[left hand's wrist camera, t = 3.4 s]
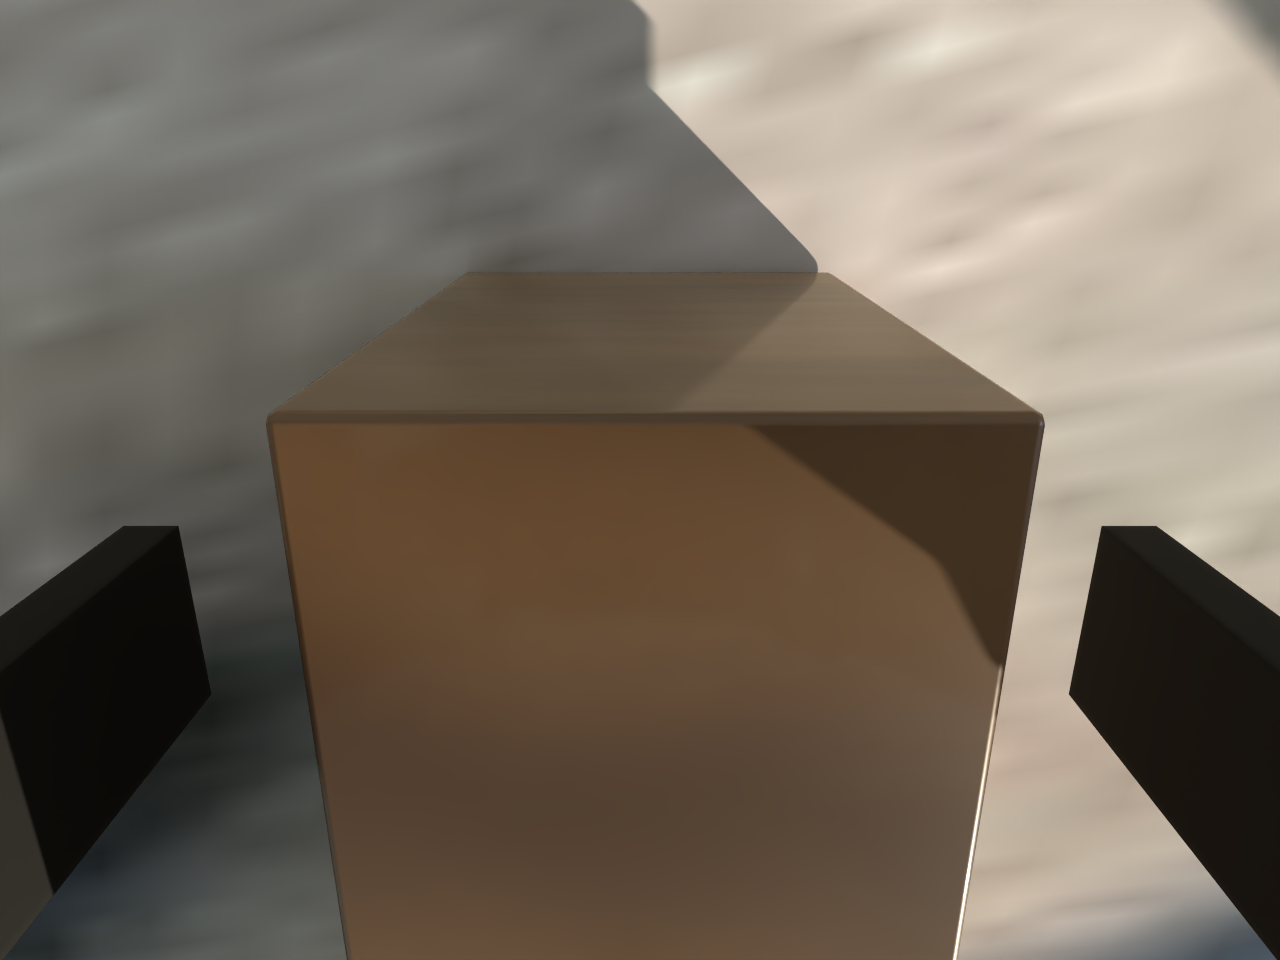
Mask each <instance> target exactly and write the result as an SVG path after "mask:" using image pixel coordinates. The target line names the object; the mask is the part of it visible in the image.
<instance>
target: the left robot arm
mask: <svg viewBox="0 0 1280 960" xmlns="http://www.w3.org/2000/svg"><path fill="white" fill-rule="evenodd" d="M210 695H211V691H210V686H209V680H208V675H207V670H206V665H205V660H204V655H203V650H202V645H201V640H200V634H199V629H198V624H197V619H196V614H195V609H194V604H193V599H192V594H191V588H190V583H189V578H188V573H187V568H186V563H185V558H184V553H183V548H182V542H181V537H180V532H179V527H178V526H123V527H122V528H120V529H119V530H118V531H116V532H115V533H114V534H112V535H111V536H109V537H108V538H107V539H105V540H104V541H103V542H101V543H100V544H99V545H97V546H96V547H94V548H93V549H92V550H90V551H89V552H88V553H86V554H85V555H84V556H82V557H81V558H79V559H78V560H77V561H75V562H74V563H73V564H71V565H70V566H69V567H67V568H66V569H64V570H63V571H62V572H60V573H59V574H58V575H56V576H55V577H54V578H52V579H51V580H49V581H48V582H47V583H45V584H44V585H43V586H41V587H40V588H39V589H37V590H36V591H34V592H33V593H32V594H30V595H29V596H28V597H26V598H25V599H24V600H22V601H21V602H19V603H18V604H17V605H15V606H14V607H13V608H11V609H10V610H9V611H7V612H6V613H4V614H3V615H2V616H0V960H3V959H4V958H5V956H6V955H7V954H8V953H9V951H10V950H11V949H12V948H13V946H14V945H15V944H16V942H17V941H18V940H19V939H20V937H21V936H22V935H23V934H24V932H25V931H26V930H27V928H28V927H29V926H30V925H31V923H32V922H33V921H34V920H35V918H36V917H37V916H38V914H39V913H40V912H41V911H42V909H43V908H44V907H45V905H46V904H47V903H48V902H49V900H50V899H51V898H52V897H53V895H54V894H55V893H56V891H57V890H58V889H59V888H60V886H61V885H62V884H63V883H64V881H65V880H66V879H67V877H68V876H69V875H70V874H71V872H72V871H73V870H74V868H75V867H76V866H77V865H78V863H79V862H80V861H81V860H82V858H83V857H84V856H85V854H86V853H87V852H88V851H89V849H90V848H91V847H92V846H93V844H94V843H95V842H96V840H97V839H98V838H99V837H100V835H101V834H102V833H103V832H104V830H105V829H106V828H107V826H108V825H109V824H110V823H111V821H112V820H113V819H114V817H115V816H116V815H117V814H118V812H119V811H120V810H121V809H122V807H123V806H124V805H125V803H126V802H127V801H128V800H129V798H130V797H131V796H132V795H133V793H134V792H135V791H136V789H137V788H138V787H139V786H140V784H141V783H142V782H143V780H144V779H145V778H146V777H147V775H148V774H149V773H150V772H151V770H152V769H153V768H154V766H155V765H156V764H157V763H158V761H159V760H160V759H161V758H162V756H163V755H164V754H165V752H166V751H167V750H168V749H169V747H170V746H171V745H172V744H173V742H174V741H175V740H176V738H177V737H178V736H179V735H180V733H181V732H182V731H183V729H184V728H185V727H186V726H187V724H188V723H189V722H190V721H191V719H192V718H193V717H194V715H195V714H196V713H197V712H198V710H199V709H200V708H201V707H202V705H203V704H204V703H205V701H206V700H207V699H208V698H209V696H210ZM1069 695H1070V696H1071V698H1072V699H1073V700H1074V701H1075V703H1076V704H1077V705H1078V706H1079V708H1080V709H1081V710H1082V712H1083V713H1084V714H1085V715H1086V717H1087V718H1088V719H1089V721H1090V722H1091V723H1092V724H1093V726H1094V727H1095V728H1096V729H1097V731H1098V732H1099V733H1100V735H1101V736H1102V737H1103V738H1104V740H1105V741H1106V742H1107V743H1108V745H1109V746H1110V747H1111V749H1112V750H1113V751H1114V752H1115V754H1116V755H1117V756H1118V757H1119V759H1120V760H1121V761H1122V763H1123V764H1124V765H1125V766H1126V768H1127V769H1128V770H1129V772H1130V773H1131V774H1132V775H1133V777H1134V778H1135V779H1136V780H1137V782H1138V783H1139V784H1140V786H1141V787H1142V788H1143V789H1144V791H1145V792H1146V793H1147V794H1148V796H1149V797H1150V798H1151V800H1152V801H1153V802H1154V803H1155V805H1156V806H1157V807H1158V809H1159V810H1160V811H1161V812H1162V814H1163V815H1164V816H1165V817H1166V819H1167V820H1168V821H1169V823H1170V824H1171V825H1172V826H1173V828H1174V829H1175V830H1176V831H1177V833H1178V834H1179V835H1180V837H1181V838H1182V839H1183V840H1184V842H1185V843H1186V844H1187V845H1188V847H1189V848H1190V849H1191V851H1192V852H1193V853H1194V854H1195V856H1196V857H1197V858H1198V860H1199V861H1200V862H1201V863H1202V865H1203V866H1204V867H1205V868H1206V870H1207V871H1208V872H1209V874H1210V875H1211V876H1212V877H1213V879H1214V880H1215V881H1216V882H1217V884H1218V885H1219V886H1220V888H1221V889H1222V890H1223V891H1224V893H1225V894H1226V895H1227V896H1228V898H1229V899H1230V900H1231V902H1232V903H1233V904H1234V905H1235V907H1236V908H1237V909H1238V911H1239V912H1240V913H1241V914H1242V916H1243V917H1244V918H1245V919H1246V921H1247V922H1248V923H1249V925H1250V926H1251V927H1252V928H1253V930H1254V931H1255V932H1256V933H1257V935H1258V936H1259V937H1260V939H1261V940H1262V941H1263V942H1264V944H1265V945H1266V946H1267V948H1268V949H1269V950H1270V951H1271V953H1272V954H1273V955H1274V956H1275V958H1276V959H1277V960H1280V616H1278V615H1277V614H1276V613H1274V612H1273V611H1271V610H1270V609H1269V608H1267V607H1266V606H1265V605H1263V604H1262V603H1261V602H1259V601H1258V600H1256V599H1255V598H1254V597H1252V596H1251V595H1250V594H1248V593H1247V592H1246V591H1244V590H1243V589H1241V588H1240V587H1239V586H1237V585H1236V584H1235V583H1233V582H1232V581H1231V580H1229V579H1228V578H1227V577H1225V576H1224V575H1222V574H1221V573H1220V572H1218V571H1217V570H1216V569H1214V568H1213V567H1212V566H1210V565H1209V564H1207V563H1206V562H1205V561H1203V560H1202V559H1201V558H1199V557H1198V556H1197V555H1195V554H1194V553H1192V552H1191V551H1190V550H1188V549H1187V548H1186V547H1184V546H1183V545H1182V544H1180V543H1179V542H1177V541H1176V540H1175V539H1173V538H1172V537H1171V536H1169V535H1168V534H1167V533H1165V532H1164V531H1162V530H1161V529H1160V528H1158V527H1157V526H1102V527H1101V532H1100V538H1099V543H1098V548H1097V553H1096V558H1095V563H1094V568H1093V573H1092V578H1091V584H1090V589H1089V594H1088V599H1087V604H1086V609H1085V614H1084V619H1083V624H1082V630H1081V635H1080V640H1079V645H1078V650H1077V655H1076V660H1075V665H1074V670H1073V676H1072V681H1071V686H1070V691H1069Z"/></svg>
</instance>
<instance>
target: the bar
mask: <svg viewBox="0 0 1280 960" xmlns="http://www.w3.org/2000/svg"><path fill="white" fill-rule="evenodd" d="M266 427H267V433H268V440H269V447H270V453H271V460H272V467H273V473H274V480H275V486H276V493H277V500H278V506H279V513H280V519H281V526H282V533H283V539H284V546H285V552H286V559H287V566H288V572H289V579H290V585H291V592H292V599H293V605H294V612H295V618H296V625H297V632H298V638H299V645H300V651H301V658H302V665H303V671H304V678H305V685H306V691H307V698H308V704H309V711H310V718H311V724H312V731H313V737H314V744H315V751H316V757H317V764H318V770H319V777H320V784H321V790H322V797H323V803H324V810H325V817H326V823H327V830H328V836H329V843H330V850H331V856H332V863H333V869H334V876H335V883H336V889H337V896H338V903H339V909H340V916H341V922H342V929H343V936H344V942H345V949H346V955H347V960H957V958H958V952H959V946H960V939H961V933H962V927H963V921H964V915H965V909H966V903H967V897H968V891H969V884H970V878H971V872H972V866H973V860H974V854H975V848H976V842H977V836H978V830H979V823H980V817H981V811H982V805H983V799H984V793H985V787H986V781H987V775H988V769H989V762H990V756H991V750H992V744H993V738H994V732H995V726H996V720H997V714H998V708H999V701H1000V695H1001V689H1002V683H1003V677H1004V671H1005V665H1006V659H1007V653H1008V647H1009V640H1010V634H1011V628H1012V622H1013V616H1014V610H1015V604H1016V598H1017V592H1018V586H1019V579H1020V573H1021V567H1022V561H1023V555H1024V549H1025V543H1026V537H1027V531H1028V524H1029V518H1030V512H1031V506H1032V500H1033V494H1034V488H1035V482H1036V476H1037V470H1038V463H1039V457H1040V451H1041V445H1042V439H1043V433H1044V427H1045V423H1044V418H1043V415H1042V414H1041V413H1039V412H1038V411H1036V410H1035V409H1033V408H1032V407H1030V406H1029V405H1027V404H1026V403H1024V402H1023V401H1021V400H1020V399H1018V398H1017V397H1015V396H1014V395H1012V394H1011V393H1009V392H1008V391H1006V390H1005V389H1003V388H1002V387H1000V386H999V385H997V384H996V383H994V382H993V381H991V380H990V379H988V378H987V377H985V376H984V375H982V374H981V373H979V372H978V371H976V370H975V369H973V368H972V367H970V366H969V365H967V364H966V363H964V362H963V361H961V360H960V359H958V358H957V357H955V356H954V355H952V354H951V353H949V352H948V351H946V350H945V349H943V348H942V347H940V346H939V345H937V344H936V343H934V342H933V341H931V340H930V339H928V338H927V337H925V336H924V335H922V334H921V333H919V332H918V331H916V330H915V329H913V328H912V327H910V326H909V325H907V324H906V323H904V322H903V321H901V320H899V319H898V318H896V317H895V316H893V315H892V314H890V313H889V312H887V311H886V310H884V309H883V308H881V307H880V306H878V305H877V304H875V303H874V302H872V301H871V300H869V299H868V298H866V297H865V296H863V295H862V294H860V293H859V292H857V291H856V290H854V289H853V288H851V287H850V286H848V285H847V284H845V283H844V282H842V281H841V280H839V279H838V278H836V277H835V276H833V275H832V274H830V273H467V274H465V275H463V276H462V277H460V278H459V279H458V280H456V281H455V282H453V283H452V284H451V285H449V286H448V287H446V288H445V289H444V290H442V291H441V292H439V293H438V294H437V295H435V296H434V297H432V298H431V299H430V300H428V301H427V302H425V303H424V304H422V305H421V306H420V307H418V308H417V309H415V310H414V311H413V312H411V313H410V314H408V315H407V316H406V317H404V318H403V319H401V320H400V321H399V322H397V323H396V324H394V325H393V326H392V327H390V328H389V329H387V330H386V331H385V332H383V333H382V334H380V335H379V336H377V337H376V338H375V339H373V340H372V341H370V342H369V343H368V344H366V345H365V346H363V347H362V348H361V349H359V350H358V351H356V352H355V353H354V354H352V355H351V356H349V357H348V358H347V359H345V360H344V361H342V362H341V363H340V364H338V365H337V366H335V367H334V368H332V369H331V370H330V371H328V372H327V373H325V374H324V375H323V376H321V377H320V378H318V379H317V380H316V381H314V382H313V383H311V384H310V385H309V386H307V387H306V388H304V389H303V390H302V391H300V392H299V393H297V394H296V395H295V396H293V397H292V398H290V399H289V400H287V401H286V402H285V403H283V404H282V405H280V406H279V407H278V408H276V409H275V410H273V411H272V412H271V413H269V414H268V418H267V421H266Z"/></svg>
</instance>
